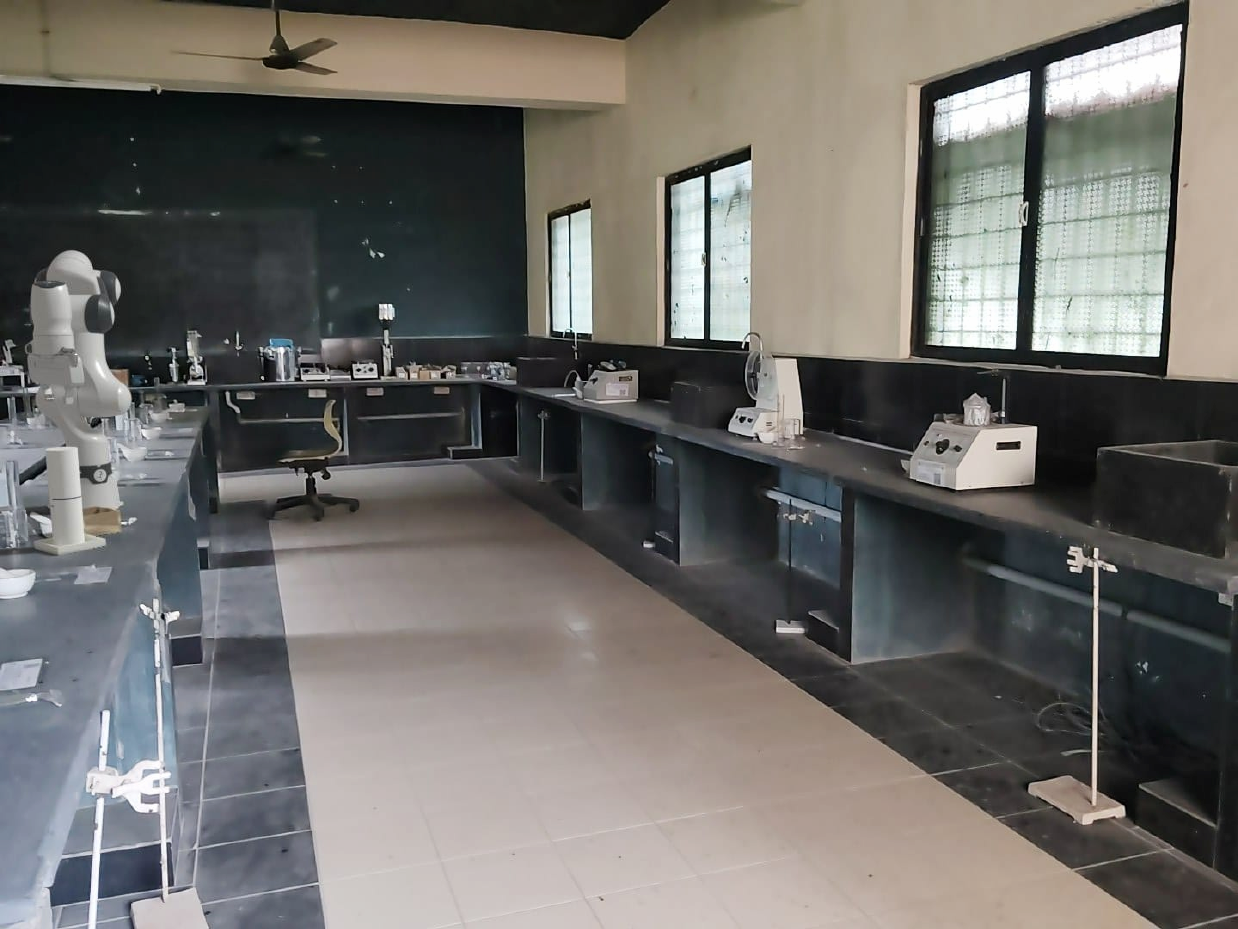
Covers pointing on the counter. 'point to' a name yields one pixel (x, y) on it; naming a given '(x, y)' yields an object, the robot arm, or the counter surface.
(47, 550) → the tray
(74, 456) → the cylindrical container
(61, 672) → the counter surface
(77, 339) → the robot arm
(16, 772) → the counter surface
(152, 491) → the counter surface
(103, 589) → the counter surface
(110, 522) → the holder
